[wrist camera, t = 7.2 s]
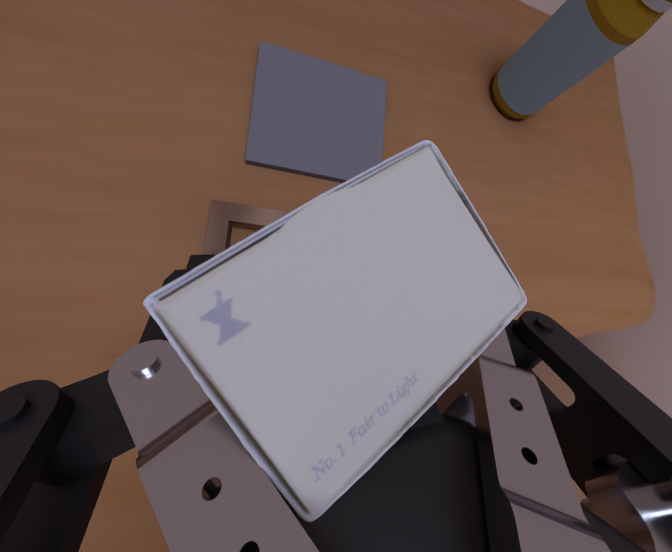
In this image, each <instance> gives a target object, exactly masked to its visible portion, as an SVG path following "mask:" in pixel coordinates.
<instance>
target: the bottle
mask: <svg viewBox="0 0 672 552" xmlns="http://www.w3.org/2000/svg"><path fill="white" fill-rule="evenodd" d="M671 8H672V0H567V1H566V2H565V3H564V4H563V5H562V6H561V7H560V8H559V9H558V10H557V11H556V12H555V13H554V14H553V15H552V16H551V17H550V18H549V19H548V20H547V21H546V22H545V23H544V24H543V25H542V26H541V27H540V28H539V29H538V30H537V31H536V32H535V33H534V34H533V35H532V36H531V37H530V38H529V39H528V41H527V42H526V43H525V44H524V45H523V46H522V47H521V48H520V49H519V50H518V51H517V52H516V53H515V54H514V55H513V56H512V57H511V58H510V59H509V60H508V61H507V62H506V63H505V64H504V65H503V66H502V67H501V68H500V69H499V70H498V72H497V73H496V75H495V77H494V81H493V85H492V94H493V99H494V101H495V103H496V105H497V107H498V108H499V109H500V110H501V112H502V113H504V114H505V115H506V116H508V117H511V118H516V119H525V118H528V117H530V116H531V115H533V114H534V113H536V112H537V111H539V110H540V109H541V108H543V107H544V106H546V105H547V104H548V103H550V102H551V101H553V100H554V99H555V98H557V97H558V96H560V95H561V94H562V93H564V92H565V91H567V90H568V89H569V88H571V87H572V86H574V85H575V84H576V83H578V82H579V81H581V80H582V79H583V78H585V77H586V76H588V75H589V74H590V73H592V72H593V71H595V70H596V69H597V68H599V67H600V66H601V65H603V64H604V63H606V62H607V61H608V60H610V59H611V58H613V57H614V56H615V55H617V54H618V53H619V52H621V51H622V50H624V49H625V48H627V47H628V46H629V45H631V44H632V43H634V42H635V41H636V40H637V39H639V38H640V37H641V36H643V35H644V34H645V33H646V32H647V31H648V30H649V29H650V27H652V25H653V24H654V23H655V22H656V21H657V20H658V19H659V18H660V17H661V16H662V15H663V14H664V13H665V12H667V11H668V10H670V9H671Z"/></svg>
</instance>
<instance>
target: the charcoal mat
mask: <svg viewBox="0 0 672 552" xmlns="http://www.w3.org/2000/svg"><path fill="white" fill-rule="evenodd" d="M386 84H387V81H386V80H383V79H380V78H377V77H374V76H370V75H367V74H364V73H361V72H358V71H355V70H352V69H348V68H345V67H342V66H339V65H336V64H333V63H330V62H326V61H323V60H320V59H317V58H314V57H311V56H308V55H304V54H301V53H298V52H295V51H292V50H289V49H285V48H282V47H279V46H276V45H273V44H270V43H267V42H263V41H260V46H259V54H258V62H257V70H256V78H255V86H254V94H253V102H252V110H251V118H250V126H249V134H248V142H247V150H246V158H245V161H246V163H248V164H253V165H258V166H263V167H268V168H273V169H278V170H283V171H288V172H293V173H298V174H303V175H308V176H313V177H318V178H323V179H328V180H333V181H338V182H345V181H347V180H349V179H351V178H353V177H355V176H356V175H358V174H360V173H362V172H364V171H366V170H368V169H370V168H372V167H374V166H376V165H377V164H379V163H381V162H382V156H383V138H384V120H385V102H386Z"/></svg>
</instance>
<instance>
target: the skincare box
mask: <svg viewBox="0 0 672 552" xmlns="http://www.w3.org/2000/svg"><path fill="white" fill-rule="evenodd" d="M526 303H527V298H526V295H525V293H524V291H523V290H522V288H521V286H520V284H519V282H518V281H517V279H516V277H515V276H514V274H513V272H512V271H511V269H510V268H509V266H508V265H507V263H506V261H505V259H504V258H503V256H502V254H501V252H500V251H499V249H498V247H497V246H496V244H495V242H494V240H493V238H492V237H491V235H490V234H489V232H488V230H487V229H486V227H485V225H484V223H483V222H482V220H481V219H480V217H479V215H478V214H477V212H476V210H475V208H474V207H473V205H472V203H471V202H470V200H469V198H468V197H467V195H466V194H465V192H464V190H463V189H462V187H461V186H460V184H459V182H458V181H457V179H456V178H455V176H454V174H453V172H452V171H451V169H450V167H449V165H448V164H447V162H446V161H445V159H444V158H443V156H442V155H441V153H440V151H439V149H438V147H437V146H436V145H435V144H434V143H433V142H432V141H429V140H424V141H421V142H419V143H418V144H416V145H414V146H412V147H410V148H408V149H406V150H404V151H402V152H400V153H398V154H396V155H394V156H392V157H390V158H388V159H386V160H384V161H383V162H381V163H379V164H377V165H376V166H374V167H372V168H370V169H368V170H366V171H364V172H362V173H360V174H358V175H356V176H355V177H353V178H351V179H349V180H347V181H345V182H343V183H341V184H340V185H338V186H336V187H334V188H332V189H330V190H328V191H326V192H324V193H323V194H321V195H319V196H317V197H315V198H314V199H312V200H310V201H309V202H307V203H305V204H303V205H302V206H300V207H298V208H297V209H295V210H293V211H291V212H290V213H288V214H286V215H285V216H283V217H281V218H280V219H278V220H276V221H274V222H272V223H270V224H269V225H267V226H265V227H263V228H262V229H260V230H258V231H257V232H255V233H253V234H252V235H250V236H248V237H247V238H245V239H243V240H242V241H240V242H238V243H236V244H235V245H233V246H231V247H229V248H228V249H226V250H224V251H223V252H221V253H219V254H217V255H216V256H214V257H212V258H211V259H209V260H207V261H206V262H204V263H202V264H200V265H199V266H197V267H195V268H194V269H192V270H190V271H189V272H187V273H186V274H184V275H182V276H181V277H179V278H177V279H175V280H174V281H172V282H170V283H168V284H167V285H165V286H163V287H161V288H159V289H157V290H155V291H154V292H153V293H151V294H150V295H148V296H147V297H145V299H144V301H143V305H144V306H145V308H146V309H147V310H148V312H149V313H150V315H151V316H152V317H153V319H154V320H155V321H156V322H157V324H158V325H159V326H160V328H161V329H162V331H163V333H164V334H165V336H166V338H167V339H168V341H169V342H170V344H171V346H172V347H173V348H174V349H175V350H176V352H177V353H178V354H179V356H180V357H181V359H182V360H183V362H184V363H185V364H186V366H187V367H188V368H189V370H190V371H191V373H192V375H193V376H194V378H195V379H196V380H197V382H198V383H199V384H200V386H201V387H202V389H203V391H204V392H205V394H206V395H207V396H208V397H209V398H210V400H211V401H212V403H213V404H214V405H215V407H216V408H217V409H218V411H219V412H220V413H221V415H222V416H223V417H224V419H225V420H226V421H227V423H228V424H229V426H230V427H231V429H232V430H233V431H234V433H235V434H236V435H237V437H238V438H239V439H240V441H241V443H242V444H243V446H244V447H245V448H246V450H247V451H248V452H249V453H250V454H251V456H252V457H253V458H254V460H255V461H256V462H257V464H258V465H259V466H260V467H261V468H262V469H263V470H264V472H265V473H266V475H267V476H268V478H269V479H270V480H271V481H272V482H273V484H274V485H275V486H276V487H277V489H278V490H279V491H280V492H281V494H282V495H283V496H284V497H285V499H286V500H287V501H288V502H289V504H290V505H291V506H292V508H293V509H294V510H295V512H296V513H297V514H298V516H299V517H301V518H302V519H303V520H304V521H307V522H312V521H314V520H316V519H317V518H318V517H320V516H321V515H322V514H323V513H324V512H325V511H326V510H327V509H328V508H329V507H330V506H331V505H332V504H333V503H334V502H335V501H336V500H337V499H338V498H339V497H341V496H342V495H343V494H344V493H345V492H346V491H347V490H348V489H349V488H350V487H351V486H352V485H353V484H354V483H355V482H356V481H357V480H358V479H359V478H361V477H362V476H363V475H364V474H365V473H366V472H367V471H368V470H369V469H370V468H371V467H372V466H373V465H374V464H375V463H376V462H377V461H378V460H379V459H380V458H381V456H382V455H383V454H384V453H385V452H386V451H387V450H388V449H389V448H390V447H392V446H393V445H394V444H395V443H396V442H397V441H398V440H399V439H400V438H401V436H402V435H403V434H404V433H405V432H406V431H407V430H408V429H409V428H410V427H411V426H412V425H413V424H414V423H415V422H416V421H417V420H418V419H419V418H420V417H421V416H422V415H423V414H424V413H425V412H426V411H427V410H428V409H429V408H430V407H431V406H432V405H433V404H434V403H435V402H436V400H437V399H438V398H439V397H440V396H441V394H442V393H443V392H444V391H445V390H446V389H447V388H448V387H449V386H450V385H451V384H453V383H454V382H455V381H456V380H457V379H458V377H459V376H460V374H461V373H463V372H464V371H465V369H467V368H468V366H469V365H470V364H471V363H472V362H473V361H474V360H475V359H476V358H477V357H478V356H479V355H480V354H481V353H482V352H483V351H484V350H485V349H486V347H487V346H488V345H489V344H490V343H491V342H492V341H493V340H494V339H495V338H496V337H497V336H498V335H499V334H500V333H501V331H502V330H503V329H504V328H505V327H506V326H507V325H508V324H509V323H510V322H511V321H512V319H513V318H514V317H515V316H516V315H517V314H518V313H519V312H520V310H521V309H523V308H524V306H525V305H526Z"/></svg>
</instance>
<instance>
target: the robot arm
mask: <svg viewBox="0 0 672 552" xmlns="http://www.w3.org/2000/svg"><path fill="white" fill-rule="evenodd" d="M214 256H215V255H214V254H206V255H191V256H190V259H189V262H188V265H187V268H186V270H175V271H174V272H173V273H172V274H171V275H170V276H169V277H167V278H166V279H165V280H164V283H163V285H162V287H163V286H165V285H167V284H168V283H170V282H172V281H174V280H175V279H177V278H179V277H181V276H182V275H184V274H186V273H187V272H189V271H190V270H192V269H194V268H195V267H197V266H199V265H200V264H202V263H204V262H206V261H207V260H209V259H211V258H212V257H214ZM542 360H543V361H544V362H545V363H546V364H547V365H548V366H549V367H550V368H551V369H552V370H553V371H554V372H555V373H556V374H557V375H558V376H559V377H560V378H561V379H562V380H563V381H564V382H565V383H566V384H567V385H568V386H569V387H570V388H571V389H572V391H573V392H574V395H575V402H574V404H572V405H571V406H569V407H567V406H565V405H564V404H563V403H562V402H561V401H560V400H559V399H558V398H557V397H556V396H555V395H554V394H553V393H552V392H551V390H550V389H549V388H548V387H547V386H546V385H545V384H544V383H543V382H542V381H541V380H540V379H539V378H538V376H536V374H535V373H534V372H533V371H532V369H533V368H534V367H535V366H536V365H537V364H539V362H541V361H542ZM134 447H136V448H137V451H138V455H139V457H138V458H137V459H136V466H137V470H138V473H139V476H140V479H141V481H142V484H143V486H144V489H145V491H146V494H147V496H148V499H149V501H150V504H151V506H152V509H153V511H154V513H155V516H156V518H157V521H158V523H159V526H160V528H161V531H162V533H163V536H164V538H165V541H166V543H167V545H168V548H169V550H170V552H672V418H670V417H669V416H668V415H667V414H666V413H665V412H663V411H662V410H661V409H660V408H658V407H657V406H656V405H655V404H654V403H652V402H651V401H650V400H649V399H648V398H646V397H645V396H644V395H643V394H642V393H641V392H639V391H638V390H637V389H636V388H635V387H633V386H632V385H631V384H630V383H629V382H628V381H626V380H625V379H624V378H623V377H622V376H620V375H619V374H618V373H617V372H616V371H614V370H613V369H612V368H611V367H609V366H608V365H607V364H606V363H605V362H604V361H602V360H601V359H600V358H599V357H598V356H596V355H595V354H594V353H593V352H592V351H590V350H589V349H588V348H587V347H586V346H584V345H583V344H582V343H581V342H580V341H578V340H577V339H576V338H575V337H574V336H573V335H571V334H570V333H569V332H568V331H567V330H565V329H564V328H563V327H562V326H561V325H559V324H558V323H557V322H556V321H554V320H553V319H551V318H550V317H548V316H546V315H544V314H541V313H538V312H534V311H526V312H524V313H523V314H522V315H521V316H520V317H519V318H518V320H512V321H511V322H510V323H509V324H508V325H507V326H506V327H505V328H504V329H503V330H502V331H501V333H500V334H499V335H498V336H497V337H496V338H495V339H494V340H493V341H492V342H491V343H490V344H489V345H488V346H487V347H486V349H485V350H484V351H483V352H482V353H481V354H480V355H479V356H478V357H477V358H476V359H475V360H474V361H473V362H472V363H471V364H470V365H469V366H468V368H467V369H465V371H464V372H463V373H461V374H460V376H459V377H458V379H457V380H456V381H455V382H454V383H453V384H451V385H450V386H449V387H448V388H447V389H446V390H445V391H444V392H443V393H442V394H441V396H440V397H439V398H438V399H437V400H436V402H435V403H434V404H433V405H432V406H431V407H430V408H429V409H428V410H427V411H426V412H425V413H424V414H423V415H422V416H421V417H420V418H419V419H418V420H417V421H416V422H415V423H414V424H413V425H412V426H411V427H410V428H409V429H408V430H407V431H406V432H405V433H404V434H403V435H402V436H401V438H400V439H399V440H398V441H397V442H396V443H395V444H394V445H393V446H392V447H390V448H389V449H388V450H387V451H386V452H385V453H384V454H383V455H382V456H381V458H380V459H379V460H378V461H377V462H376V463H375V464H374V465H373V466H372V467H371V468H370V469H369V470H368V471H367V472H366V473H365V474H364V475H363V476H362V477H361V478H359V479H358V480H357V481H356V482H355V483H354V484H353V485H352V486H351V487H350V488H349V489H348V490H347V491H346V492H345V493H344V494H343V495H342V496H341V497H339V498H338V499H337V500H336V501H335V502H334V503H333V504H332V505H331V506H330V507H329V508H328V509H327V510H326V511H325V512H324V513H323V514H322V515H321V516H320V517H318V518H317V519H316V520H314V521H312V522H307V521H304V520H303V519H302V518H301V517H299V516H298V514H297V513H296V512H295V510H294V509H293V508H292V506H291V505H290V504H289V502H288V501H287V500H286V499H285V497H284V496H283V495H282V494H281V492H280V491H279V490H278V489H277V487H276V486H275V485H274V484H273V482H272V481H271V480H270V479H269V478H268V476H267V475H266V473H265V472H264V470H263V469H262V468H261V467H260V466H259V465H258V464H257V462H256V461H255V460H254V458H253V457H252V456H251V454H250V453H249V452H248V451H247V450H246V448H245V447H244V446H243V444H242V443H241V441H240V439H239V438H238V437H237V435H236V434H235V433H234V431H233V430H232V429H231V427H230V426H229V424H228V423H227V421H226V420H225V419H224V417H223V416H222V415H221V413H220V412H219V411H218V409H217V408H216V407H215V405H214V404H213V403H212V401H211V400H210V398H209V397H208V396H207V395H206V394H205V392H204V391H203V389H202V387H201V386H200V384H199V383H198V382H197V380H196V379H195V378H194V376H193V375H192V373H191V371H190V370H189V368H188V367H187V366H186V364H185V363H184V362H183V360H182V359H181V357H180V356H179V354H178V353H177V352H176V350H175V349H174V348H173V347H172V346H171V344H170V342H169V341H168V339H167V338H166V336H165V334H164V333H163V331H162V329H161V328H160V326H159V325H158V324H157V322H156V321H155V320H154V319H153V317H152V316H151V315H150V317H149V320H148V322H147V325H146V327H145V329H144V332H143V334H142V337H141V339H140V342H139V344H138V345H136V346H134V347H132V348H130V349H128V350H127V351H125V352H124V353H123V354H122V355H121V356H119V357H118V358H117V360H116V361H115V362H114V363H113V365H112V366H111V368H110V369H109V370H107V371H105V372H103V373H100V374H98V375H95V376H92V377H90V378H87V379H84V380H81V381H79V382H76V383H73V384H71V385H68V386H65V387H63V388H59V387H58V386H57V385H56V384H54V383H53V382H51V381H47V380H33V381H28V382H24V383H20V384H17V385H14V386H12V387H9V388H7V389H5V390H3V391H1V392H0V552H78V551H79V548H80V546H81V543H82V540H83V537H84V535H85V532H86V529H87V527H88V524H89V521H90V518H91V516H92V513H93V510H94V508H95V505H96V502H97V499H98V497H99V494H100V491H101V489H102V486H103V483H104V480H105V478H106V475H107V472H108V470H109V467H110V464H111V461H112V459H113V458H115V457H117V456H119V455H120V454H122V453H124V452H126V451H128V450H130V449H132V448H134ZM570 476H571V477H572V478H573V480H574V481H575V482H576V484H577V485H578V486H579V487H580V489H581V490H582V491H583V492H584V494H585V495H586V496H587V498H584V499H582V500H581V503H580V502H579V500H578V497H577V494H576V491H575V488H574V485H573V483H572V480H571V477H570Z"/></svg>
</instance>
